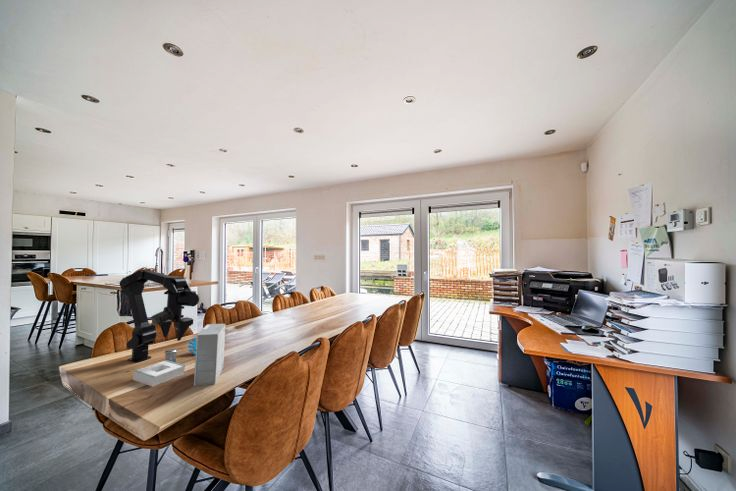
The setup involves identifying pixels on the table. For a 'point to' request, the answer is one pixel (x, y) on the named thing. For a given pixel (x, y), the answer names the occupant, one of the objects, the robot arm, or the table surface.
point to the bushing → (171, 355)
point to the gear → (192, 346)
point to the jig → (158, 372)
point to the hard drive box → (209, 354)
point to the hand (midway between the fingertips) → (172, 338)
